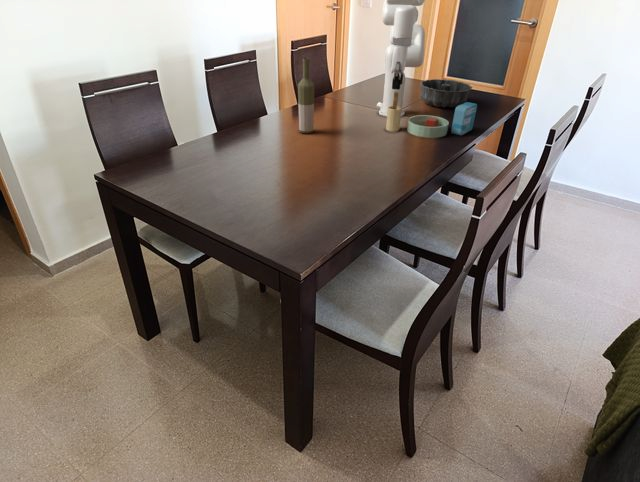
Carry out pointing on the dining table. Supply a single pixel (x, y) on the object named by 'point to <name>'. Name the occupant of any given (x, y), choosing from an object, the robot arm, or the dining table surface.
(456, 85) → the bundt pan
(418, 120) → the bowl
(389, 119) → the crock
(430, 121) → the block
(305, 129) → the bottle
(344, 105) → the dining table surface
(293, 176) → the dining table surface
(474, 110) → the data package
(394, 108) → the stick
